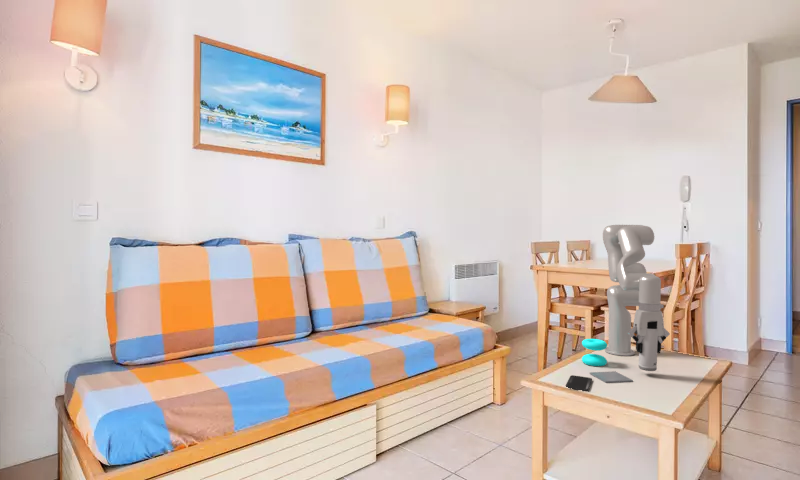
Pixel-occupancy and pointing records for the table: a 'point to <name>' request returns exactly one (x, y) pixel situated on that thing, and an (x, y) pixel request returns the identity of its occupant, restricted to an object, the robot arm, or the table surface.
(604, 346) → the donuts
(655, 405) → the table surface
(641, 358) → the travel mug
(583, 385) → the phone
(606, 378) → the coaster
